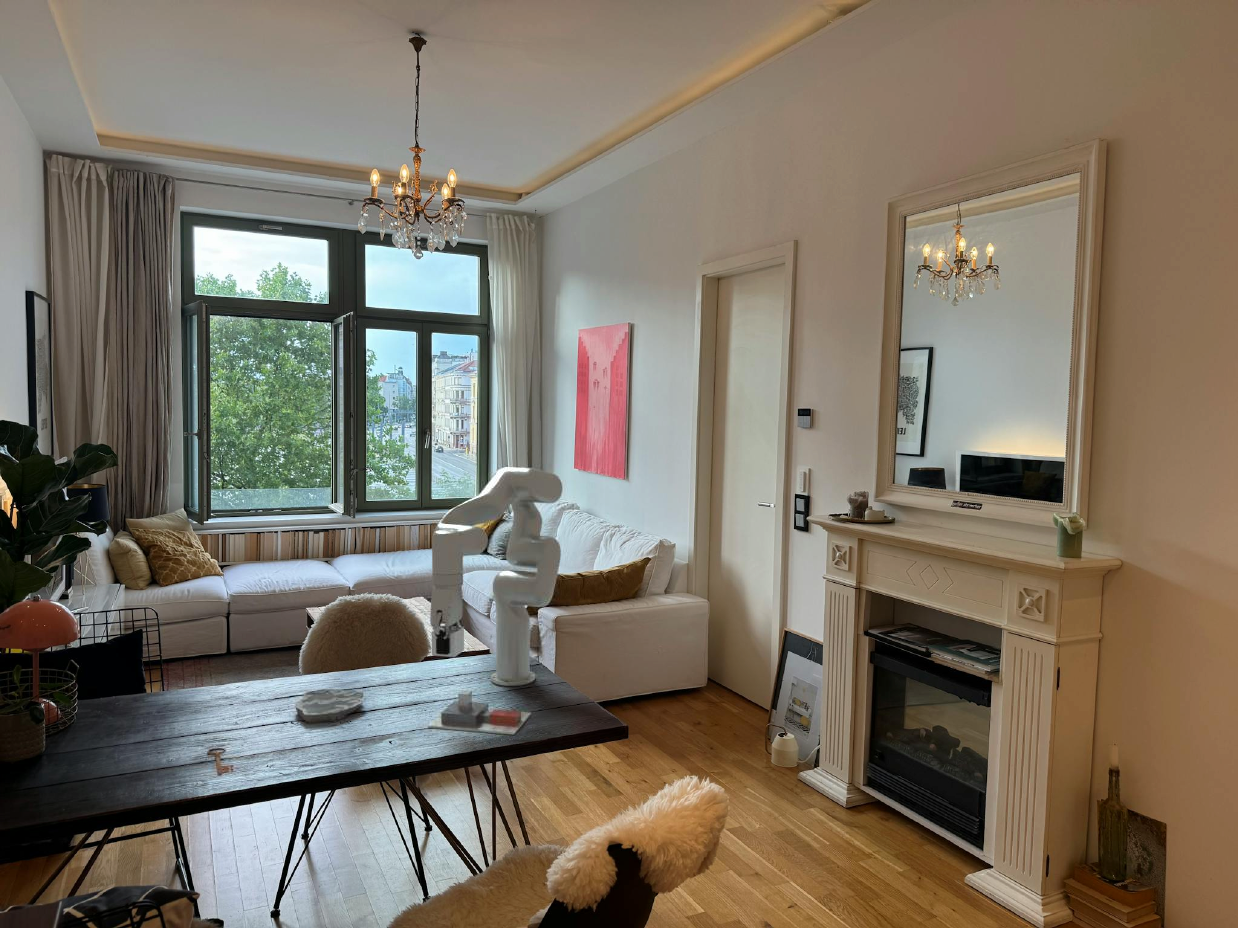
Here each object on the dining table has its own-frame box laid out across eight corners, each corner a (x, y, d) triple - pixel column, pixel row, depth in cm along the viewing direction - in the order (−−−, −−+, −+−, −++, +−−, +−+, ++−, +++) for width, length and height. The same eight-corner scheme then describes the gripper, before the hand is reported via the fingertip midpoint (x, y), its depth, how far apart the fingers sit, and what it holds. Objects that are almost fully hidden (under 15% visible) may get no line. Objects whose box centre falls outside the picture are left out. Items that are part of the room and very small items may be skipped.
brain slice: (368, 720, 218) (368, 708, 217) (296, 729, 211) (296, 717, 211) (361, 695, 236) (361, 685, 236) (294, 703, 230) (294, 692, 229)
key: (239, 774, 186) (234, 749, 200) (239, 770, 186) (235, 745, 200) (209, 777, 184) (206, 751, 197) (209, 773, 184) (207, 747, 197)
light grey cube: (441, 648, 222) (441, 625, 221) (463, 650, 221) (463, 626, 220) (431, 655, 216) (431, 631, 216) (454, 656, 215) (454, 633, 214)
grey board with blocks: (449, 707, 226) (449, 681, 226) (530, 714, 222) (530, 687, 222) (427, 727, 212) (427, 699, 212) (514, 734, 208) (514, 706, 208)
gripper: (447, 571, 226) (448, 640, 227) (418, 585, 209) (419, 659, 211) (475, 573, 225) (475, 642, 226) (447, 587, 208) (448, 661, 209)
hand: (448, 649), depth 218 cm, fingers closed on light grey cube, 6 cm apart
